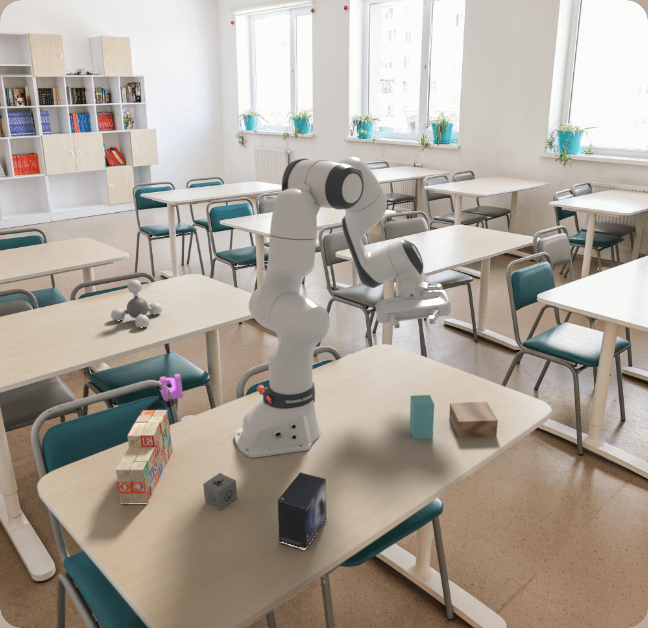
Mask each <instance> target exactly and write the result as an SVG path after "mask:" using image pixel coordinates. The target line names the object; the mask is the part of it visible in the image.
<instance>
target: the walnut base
mask: <svg viewBox="0 0 648 628" xmlns="http://www.w3.org/2000/svg"><path fill="white" fill-rule="evenodd" d="M448 418H449V422H450V423H451V426H452V428H453V430H454V432H455V435H456V434H457V435H456V437H457V438H458V439H461V438H464V437H467V438H486V437H488V438H489V437H497V432H498V423H499V421H498V418H497V417H496V415H495V413H494V411H493V409H492V408H491V407H490V405H489V403H488V401H475V402H474V401H471V402H469V401H468V402H450V403H449V417H448Z"/></svg>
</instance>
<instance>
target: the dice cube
mask: <svg viewBox="0 0 648 628" xmlns="http://www.w3.org/2000/svg"><path fill="white" fill-rule="evenodd" d="M237 490H238V489H237V481H236V479H234V478H233V477H229V476H228V475H225V474H223V473H221V472H219V473H218V474H216V475H214V476H213V477H211V478H210V479H208V480H207V481H205V482H204V483H203V495H204V502H206V503H205V504H207V503H208V504H207V505H209V504H210V505H209V506H211V507H212V506H213V507H212V508H214V507H215V509H216V508H217V509H216V510H218V509H219V510H218V511H220V510H221V511H220V512H223V511H224V510H225V509H226V508H227V506H228V505H229V506H230V505H232V504H233V503H235V502H236V501H238V491H237ZM231 503H232V504H231ZM229 506H228V507H229Z"/></svg>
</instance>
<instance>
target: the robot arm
mask: <svg viewBox="0 0 648 628" xmlns="http://www.w3.org/2000/svg"><path fill="white" fill-rule="evenodd" d="M321 208H324V209H325V208H326V209H335V210H338V211H340V210H344V211H345V215H344V216H343V217H342V219H341V227H342V232H343V235H344V238H345V242H346V244H347V247H348V249H349V252H350V254H351V258H352V260H353V263H354V265H355V269H356V275H357V278H358V279H359V281H360V283H361V284H362V285H364V286H366V287H368V288H371V289H375V288H377V287H380V286H381V285H383V284H385V283H386V282H387V283H388V282H389V281H392V280H395V288H396V291H395V294H396V297H391V298H383V299H381V300H379V301H378V302H377V301H376V303H375V315H376V320H377V322H378V323H379V324H385V323H386V324H387V323H389V324H391V325H393V328H394V329H400V328H401V327H400V324H401V323H400V322H405V321H412V320H419V319H420V320H421V319H429V320H428V322H429V325H435V324H436V321H437V320H438V318H439V317H447V316H450V315H451V313H452V305H451V301H450V297H449V295H448V293H447V292H446V290H444V288H443V285H442V284H441V283H434V282H433V283H432V282H427V280H426V279H427V278H426V274H425V272H424V262H423V258H422V256H421V253H420V252H419V249H418V247H417V246H416V245H415V244H414V243H413V242H411V241H410V240H406V239H400V240H397V241H395V242H392V243H390V244H388V245H386V246H384V247H381V248H378V249H376V250H374V251H369V252H367V251H366V248H365V246H364V243H363V238H364V237H365V235H366V234H367V233H368V232H369V231H370V230H372V229H373V228H374V227H376V226H377V225H378V224H379V223H380V222H381V220H382V219H383V217H384V216H385V214H386V211H387V208H388V201H387V197H386V194H385V192H384V189H383V187H382V185H381V184H380V182H379V179H378V178H377V177H376V175H375V174H374V173H373V171H372V169H370V168H369V166H368V165H367V164H366V163H365V162H364V161H363V160H362V159H361V158H359V157H356V156H347V157H344V158H342V159H341V160H339V161H338V162H335V161H330V160H327V159H319V158H318V159H317V158H315V159H314V158H313V159H309V158H299V159H295V160H293V161H291V162H290V163H289V164H288V165H287V166H286V167H285V170H284V172H283V175H282V180H281V191H280V192H279V193H278V194H277V196H276V198H275V201H274V205H273V209H272V214H271V219H270V229H269V230H270V231H269V242H268V243H269V245H268V258H267V266H266V271H265V274H264V277H263V280H262V282H261V284H260V286H259V287H258V288H256V289H255V290H254V292H252V294H251V295H250V298H249V301H248V311H249V313H250V315H251V317H252V318H253V319H255V321H256V322H257V323H258V324H259V325H260V326H262V327H264V328H266V329H267V330H269V331H271V332H273V333H275V334H276V336H277V340H278V341H277V342H278V343H277V347H276V349H275V350H274V351H273V352H272V353H271V354H270V355H269V357H268V361H267V363H268V378H269V384H268V386H267V387H265V386H264V385H263V384H259V385H258V386H257V387H256V392H258V394H259V395H262V399H261V400H260V401H259V402H258V403H257V404H256V405H254V406H253V408H251V409H250V410H249V411H248V412H246V414H245V415H244V417H243V422H242V427H239V428H238V429H237V428H236V430H235V433H234V442H235V445H236V447H237V448H238V450H239V451H240V452H241V453H242V454H243V455H245V456H247V457H249V458H252V459H253V458H255V459H256V458H261V457H269V456H276V455H284V454H290V453H296V452H297V453H298V452H303V451H308V450H310V449H311V447H312V444H313V443H314V442H315V441H317V439H318V438H319V437H320V436H321V435H320V434H321V428H320V426H319V423H318V419H317V414H316V408H315V402H316V389H315V382H314V380H313V359H314V358H313V357H314V353H315V349H316V347H317V345H318V344H320V343H321V342H322V341H323V340H324V339H325V338H326V336H327V334H328V333H329V330H330V327H331V317H330V314H329V312H328V310H327V309H325V308H324V307H323V306H322V305H321V304H320V303H318V301H317V302H316V300H314V299H311V298H309V297H306V296H303V295H301V293H300V290H301V285H302V283H303V281H304V278H305V277H307V276H308V275H310V274H311V273H312V272H313V271H314V267H315V261H316V260H315V259H316V245H317V230H318V228H317V227H318V226H317V225H318V224H317V223H318V222H317V221H318V220H317V217H318V213H319V211H320V210H321Z"/></svg>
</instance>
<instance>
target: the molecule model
mask: <svg viewBox="0 0 648 628" xmlns="http://www.w3.org/2000/svg"><path fill="white" fill-rule="evenodd" d="M142 287H143V285H142V283H141V281H140V280H138V279H132V280H130V281H129V282H128V283H127V289H128V291H129V292H130V293H132V294H133V298H131V299H130V300H129V301H128V303H127V304H126V309H125V310H124V309H122V308H121V307H120V308H117V307H116V308H114V309H112V311H111V313H110V317H111V319H112V320H113V321H114V320H121V319H123V320H124V319H125V318H126V317H125V316H126V315H129V316H130V317H131V318H133V319H135V320H134V324H135V326H136V328H138V327H146V326H147V327H149V325H150V318H149V317H148V316H146V315H148V313H149V314H150V315H151V314H159V313H160V314H161V313H162V310H163V308H162V305H161V304H160V303H158V302H151V303H150V304H149V305H148V303H147V301H146V300H145V299H144V298H141V297H139V293H140V292H141V291H142V289H143V288H142ZM160 314H159V315H160ZM147 327H146V328H147Z"/></svg>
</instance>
